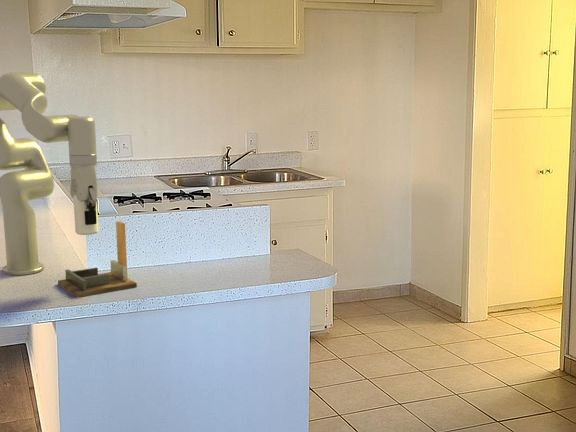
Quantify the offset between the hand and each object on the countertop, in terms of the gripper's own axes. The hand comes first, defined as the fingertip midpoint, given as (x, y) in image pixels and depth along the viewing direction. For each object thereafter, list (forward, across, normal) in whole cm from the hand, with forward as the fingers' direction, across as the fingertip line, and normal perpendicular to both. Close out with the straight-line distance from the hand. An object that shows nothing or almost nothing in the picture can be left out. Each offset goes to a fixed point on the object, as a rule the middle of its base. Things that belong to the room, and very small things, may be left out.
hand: (86, 221), depth 225 cm
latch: (+18, 0, +10) cm, 20 cm away
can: (+3, 0, 0) cm, 3 cm away
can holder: (+18, 0, 0) cm, 18 cm away
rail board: (+19, 0, +1) cm, 19 cm away
